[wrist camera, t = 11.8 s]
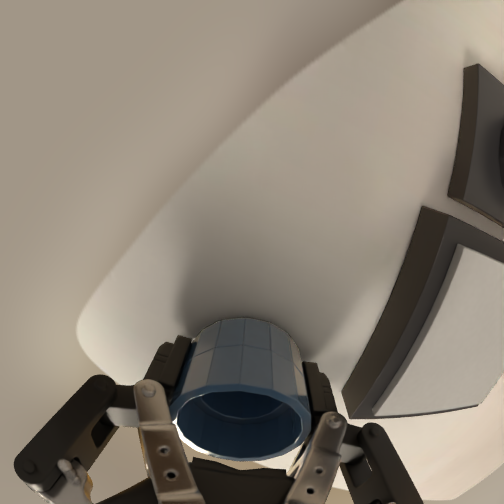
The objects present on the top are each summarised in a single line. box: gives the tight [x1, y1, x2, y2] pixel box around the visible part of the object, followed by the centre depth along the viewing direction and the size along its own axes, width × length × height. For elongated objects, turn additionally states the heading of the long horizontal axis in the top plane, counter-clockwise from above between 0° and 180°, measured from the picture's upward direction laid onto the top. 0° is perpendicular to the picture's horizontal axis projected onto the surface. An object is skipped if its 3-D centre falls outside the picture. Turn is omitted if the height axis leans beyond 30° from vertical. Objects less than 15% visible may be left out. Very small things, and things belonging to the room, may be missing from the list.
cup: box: [169, 317, 311, 461], centre depth 12 cm, size 6×6×5 cm
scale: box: [342, 206, 504, 419], centre depth 12 cm, size 13×12×3 cm
